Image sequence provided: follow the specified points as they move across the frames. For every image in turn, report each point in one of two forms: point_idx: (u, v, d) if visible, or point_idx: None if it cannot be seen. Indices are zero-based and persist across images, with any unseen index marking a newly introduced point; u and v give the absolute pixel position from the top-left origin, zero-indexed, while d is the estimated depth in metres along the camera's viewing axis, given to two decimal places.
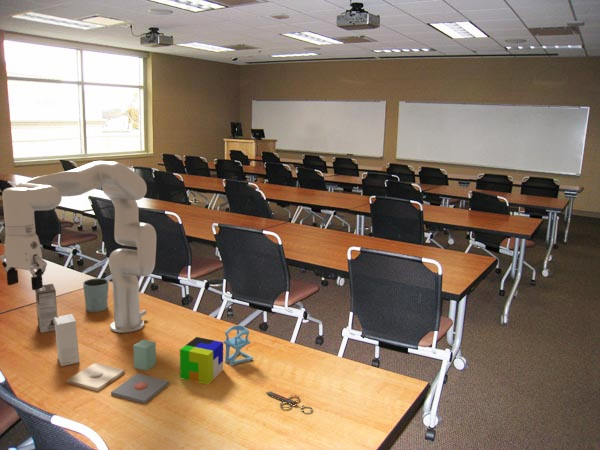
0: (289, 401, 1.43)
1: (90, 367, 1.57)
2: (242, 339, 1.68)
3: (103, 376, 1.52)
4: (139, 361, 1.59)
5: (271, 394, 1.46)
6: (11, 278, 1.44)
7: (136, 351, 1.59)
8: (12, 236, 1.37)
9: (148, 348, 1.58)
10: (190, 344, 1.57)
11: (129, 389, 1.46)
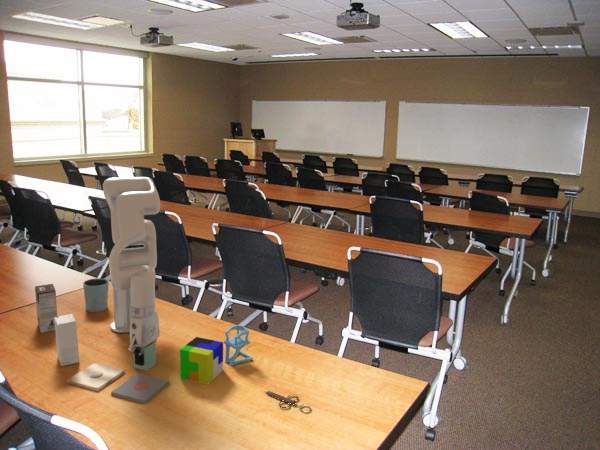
0: (288, 400, 1.43)
1: (90, 367, 1.57)
2: (242, 339, 1.68)
3: (103, 376, 1.52)
4: None
5: (270, 393, 1.46)
6: None
7: None
8: None
9: (148, 348, 1.58)
10: (190, 344, 1.57)
11: (129, 389, 1.46)
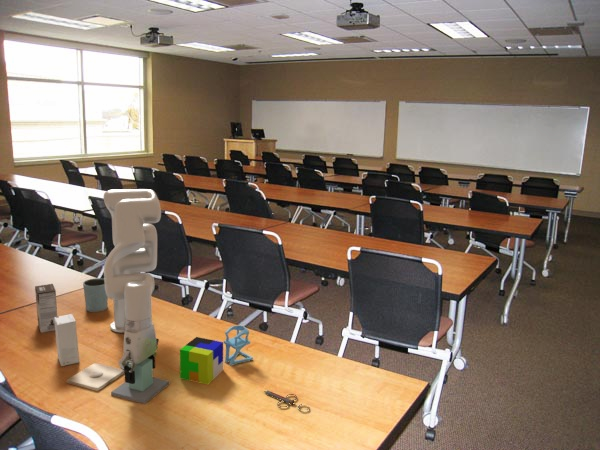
0: (287, 400, 1.43)
1: (90, 367, 1.57)
2: (242, 339, 1.68)
3: (103, 376, 1.52)
4: (135, 380, 1.45)
5: (269, 393, 1.47)
6: None
7: None
8: None
9: (144, 367, 1.44)
10: (190, 344, 1.57)
11: (129, 389, 1.46)
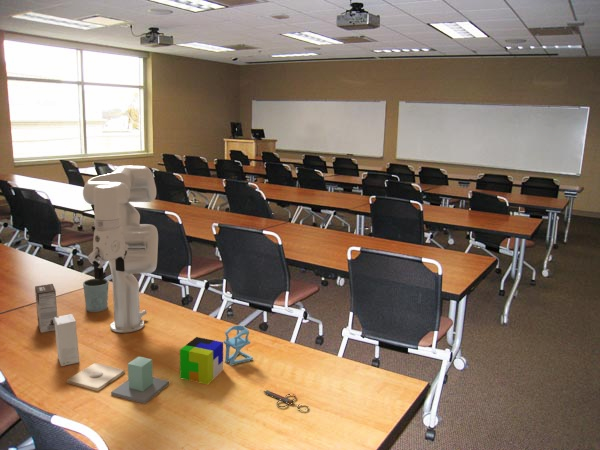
0: (286, 400, 1.43)
1: (90, 367, 1.57)
2: (242, 339, 1.68)
3: (103, 376, 1.52)
4: (135, 380, 1.45)
5: (268, 393, 1.47)
6: (117, 265, 1.63)
7: (131, 370, 1.44)
8: None
9: (144, 367, 1.44)
10: (190, 344, 1.57)
11: (129, 389, 1.46)
